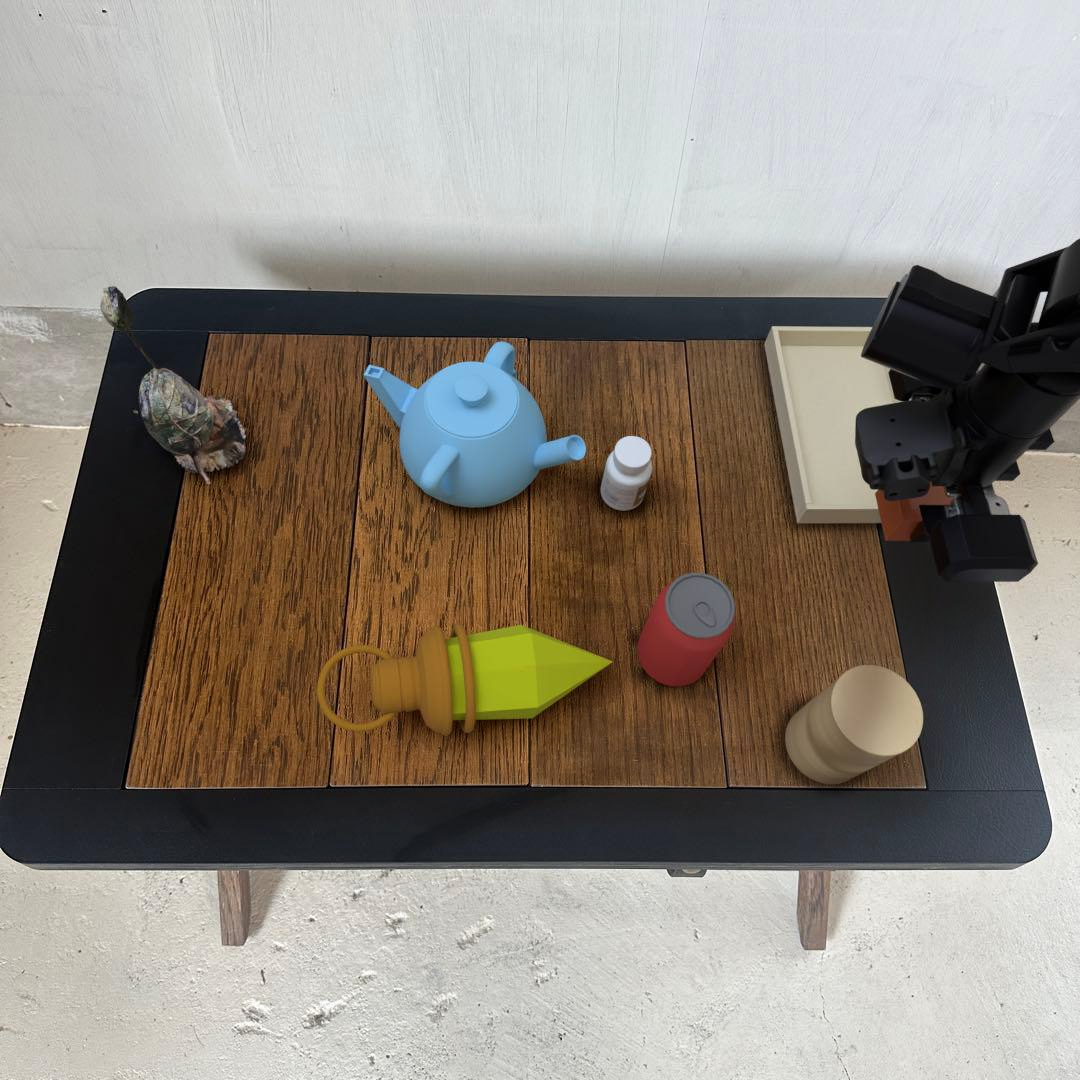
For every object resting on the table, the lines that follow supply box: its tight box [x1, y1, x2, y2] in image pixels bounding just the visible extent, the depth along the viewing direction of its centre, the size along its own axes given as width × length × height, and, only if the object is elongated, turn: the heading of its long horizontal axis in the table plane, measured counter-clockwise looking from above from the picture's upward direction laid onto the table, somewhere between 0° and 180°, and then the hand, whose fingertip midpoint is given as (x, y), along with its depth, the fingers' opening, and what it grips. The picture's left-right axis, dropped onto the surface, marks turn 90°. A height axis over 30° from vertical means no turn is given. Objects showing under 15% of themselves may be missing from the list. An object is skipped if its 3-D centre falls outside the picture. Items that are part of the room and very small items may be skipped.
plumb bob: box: [316, 623, 614, 737], centre depth 71 cm, size 9×9×25 cm
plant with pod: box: [99, 285, 247, 486], centre depth 76 cm, size 8×11×20 cm
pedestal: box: [784, 664, 924, 785], centre depth 69 cm, size 7×7×12 cm
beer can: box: [637, 572, 736, 687], centre depth 72 cm, size 7×7×12 cm
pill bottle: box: [600, 435, 653, 512], centre depth 81 cm, size 4×4×8 cm
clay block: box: [875, 481, 954, 542], centre depth 69 cm, size 4×4×4 cm
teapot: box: [363, 340, 587, 508], centre depth 81 cm, size 15×17×11 cm
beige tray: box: [763, 325, 912, 524], centre depth 88 cm, size 22×13×3 cm, turn 2°
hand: (909, 513), depth 70 cm, fingers closed on clay block, 4 cm apart
